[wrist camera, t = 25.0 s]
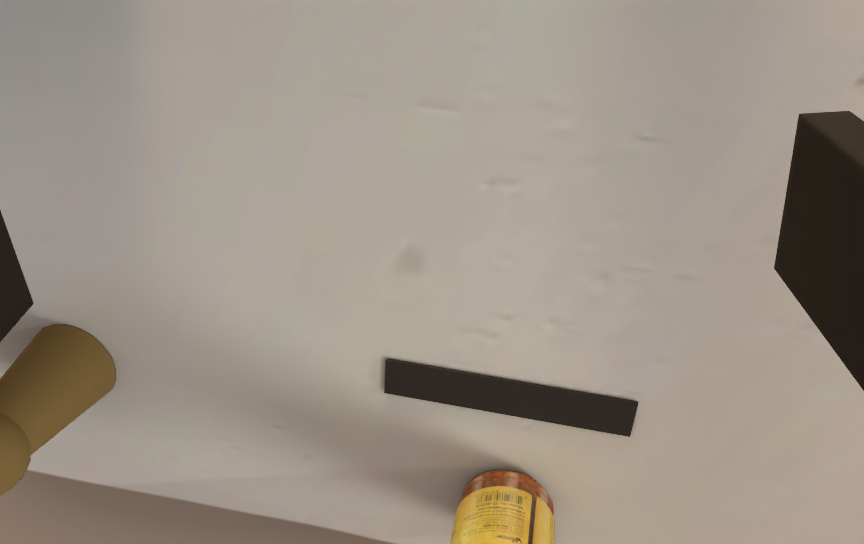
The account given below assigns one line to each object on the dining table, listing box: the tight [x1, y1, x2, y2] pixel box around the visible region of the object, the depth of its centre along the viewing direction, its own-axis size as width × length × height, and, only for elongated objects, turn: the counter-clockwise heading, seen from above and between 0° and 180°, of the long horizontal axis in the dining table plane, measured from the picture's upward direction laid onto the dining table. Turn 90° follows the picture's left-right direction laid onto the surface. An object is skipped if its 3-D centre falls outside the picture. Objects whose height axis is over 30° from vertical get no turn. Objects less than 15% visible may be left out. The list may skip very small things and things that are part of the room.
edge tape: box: [384, 359, 638, 437], centre depth 48 cm, size 15×2×1 cm, turn 86°
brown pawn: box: [0, 325, 116, 495], centre depth 49 cm, size 6×6×11 cm
